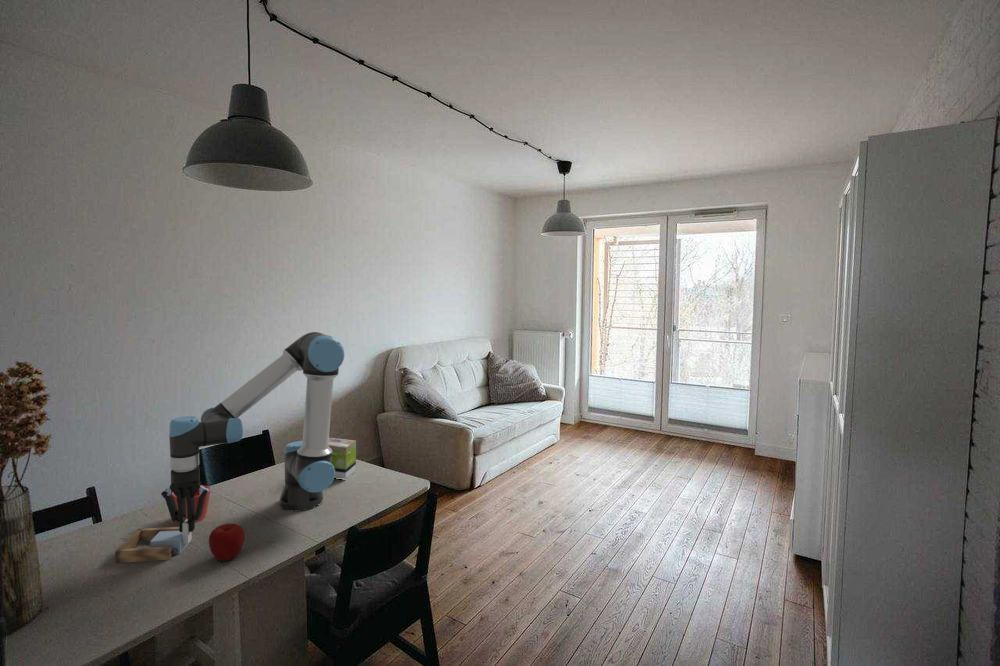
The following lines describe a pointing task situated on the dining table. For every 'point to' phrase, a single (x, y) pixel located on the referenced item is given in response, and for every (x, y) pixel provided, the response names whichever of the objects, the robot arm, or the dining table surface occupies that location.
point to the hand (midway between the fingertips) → (187, 541)
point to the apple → (226, 541)
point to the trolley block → (169, 541)
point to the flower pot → (197, 503)
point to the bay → (133, 554)
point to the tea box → (343, 456)
